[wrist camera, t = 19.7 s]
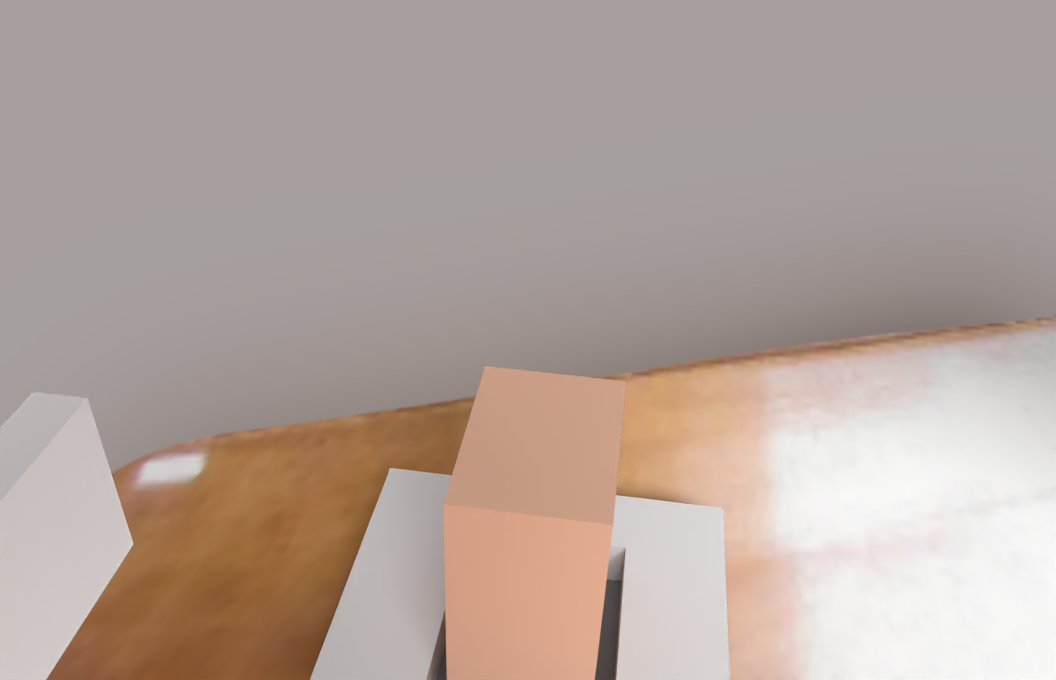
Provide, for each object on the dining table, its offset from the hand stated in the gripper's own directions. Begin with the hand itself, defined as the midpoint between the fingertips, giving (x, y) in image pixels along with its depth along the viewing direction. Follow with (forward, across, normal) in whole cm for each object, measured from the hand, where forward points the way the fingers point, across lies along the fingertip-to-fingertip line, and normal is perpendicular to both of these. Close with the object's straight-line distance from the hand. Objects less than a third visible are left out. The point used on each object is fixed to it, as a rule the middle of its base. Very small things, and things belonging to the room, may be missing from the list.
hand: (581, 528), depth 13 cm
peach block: (+14, -2, -22) cm, 27 cm away
